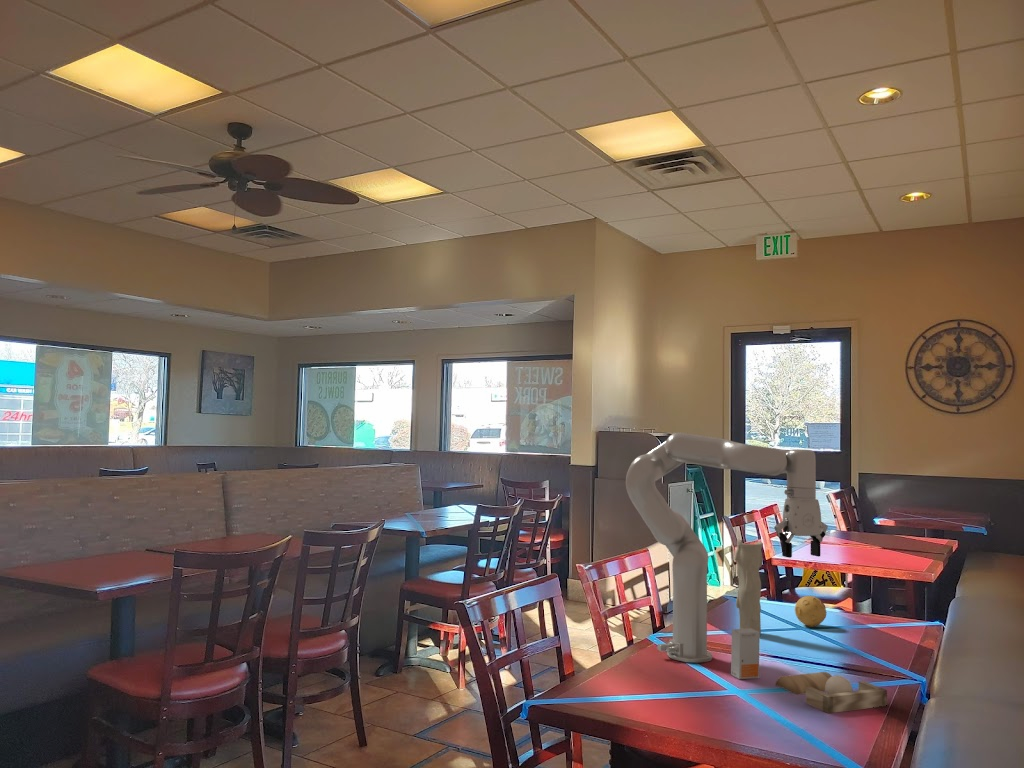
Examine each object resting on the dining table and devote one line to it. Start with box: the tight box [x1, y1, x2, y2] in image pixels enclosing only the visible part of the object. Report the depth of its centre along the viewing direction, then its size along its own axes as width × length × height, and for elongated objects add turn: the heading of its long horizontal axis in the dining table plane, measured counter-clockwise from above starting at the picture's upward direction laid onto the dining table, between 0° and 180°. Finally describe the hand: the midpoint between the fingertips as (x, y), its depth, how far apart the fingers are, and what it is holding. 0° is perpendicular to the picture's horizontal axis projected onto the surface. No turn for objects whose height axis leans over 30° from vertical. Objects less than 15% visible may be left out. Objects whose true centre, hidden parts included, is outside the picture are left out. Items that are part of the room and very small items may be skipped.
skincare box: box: [730, 628, 761, 680], centre depth 204 cm, size 6×4×12 cm
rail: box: [805, 680, 888, 714], centre depth 184 cm, size 18×7×4 cm, turn 110°
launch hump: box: [775, 671, 833, 695], centre depth 197 cm, size 13×8×8 cm, turn 110°
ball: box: [825, 674, 853, 694], centre depth 186 cm, size 6×6×6 cm
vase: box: [733, 538, 764, 634], centre depth 251 cm, size 9×8×30 cm
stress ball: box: [794, 595, 827, 628], centre depth 262 cm, size 10×10×10 cm
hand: (801, 556), depth 215 cm, fingers open, 9 cm apart
